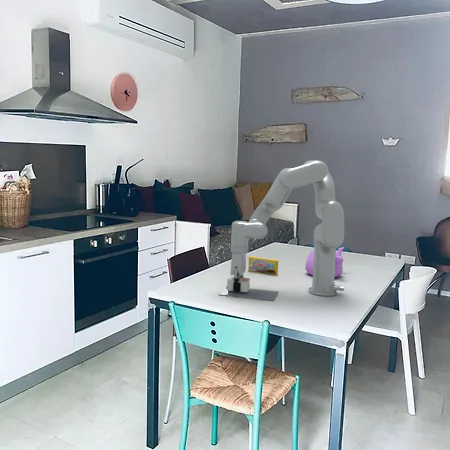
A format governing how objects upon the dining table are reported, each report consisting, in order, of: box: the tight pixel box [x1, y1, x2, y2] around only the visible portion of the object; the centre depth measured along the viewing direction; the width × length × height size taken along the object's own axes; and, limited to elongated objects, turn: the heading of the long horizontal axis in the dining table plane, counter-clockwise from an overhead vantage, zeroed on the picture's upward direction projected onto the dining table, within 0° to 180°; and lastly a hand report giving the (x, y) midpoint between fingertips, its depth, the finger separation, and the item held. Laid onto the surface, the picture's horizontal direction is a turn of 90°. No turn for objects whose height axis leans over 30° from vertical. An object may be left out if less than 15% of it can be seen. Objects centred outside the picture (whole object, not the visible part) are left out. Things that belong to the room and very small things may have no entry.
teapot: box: [304, 246, 345, 278], centre depth 240 cm, size 23×21×15 cm
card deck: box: [226, 276, 251, 292], centre depth 204 cm, size 5×9×5 cm, turn 75°
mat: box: [225, 285, 279, 302], centre depth 203 cm, size 24×14×1 cm, turn 75°
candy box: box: [247, 255, 279, 277], centre depth 240 cm, size 16×2×8 cm, turn 62°
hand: (238, 289), depth 204 cm, fingers closed on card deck, 4 cm apart
